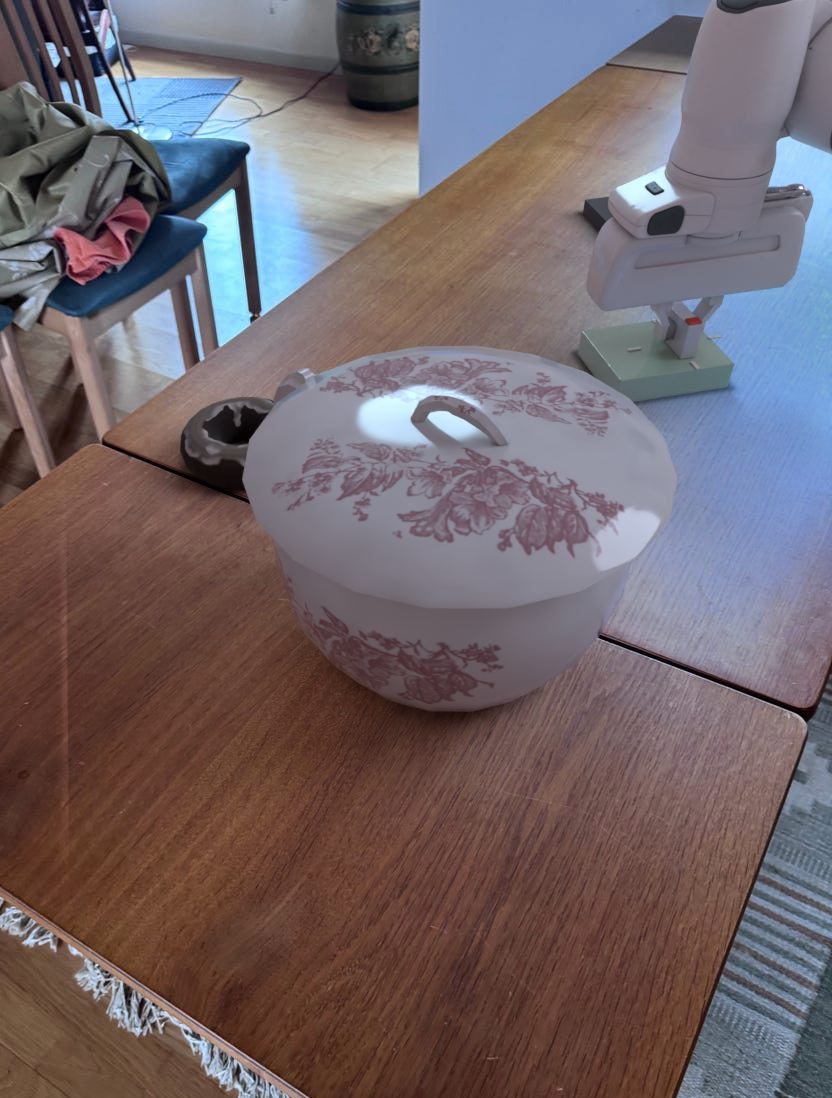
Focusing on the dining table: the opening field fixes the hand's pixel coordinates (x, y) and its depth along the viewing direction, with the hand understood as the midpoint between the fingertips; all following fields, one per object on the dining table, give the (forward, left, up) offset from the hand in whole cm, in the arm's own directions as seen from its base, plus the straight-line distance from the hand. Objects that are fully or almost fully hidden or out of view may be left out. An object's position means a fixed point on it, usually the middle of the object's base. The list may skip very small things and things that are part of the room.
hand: (676, 336), depth 91 cm
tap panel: (+2, 0, -4) cm, 4 cm away
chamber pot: (+33, +30, -4) cm, 45 cm away
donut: (+45, +4, -4) cm, 45 cm away
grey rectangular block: (0, 0, -1) cm, 1 cm away
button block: (-12, -33, -4) cm, 35 cm away
